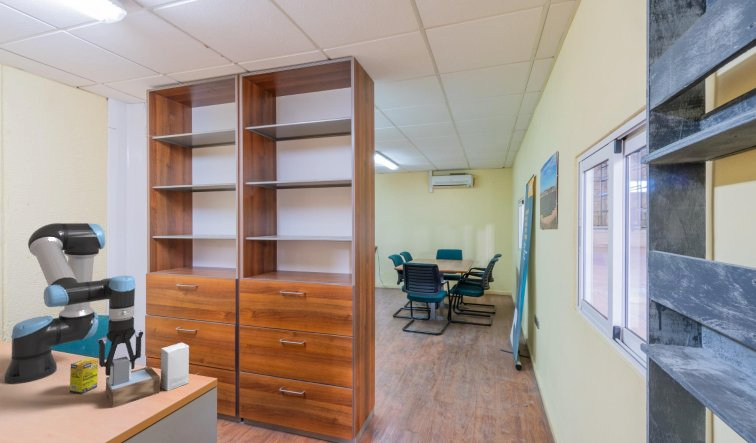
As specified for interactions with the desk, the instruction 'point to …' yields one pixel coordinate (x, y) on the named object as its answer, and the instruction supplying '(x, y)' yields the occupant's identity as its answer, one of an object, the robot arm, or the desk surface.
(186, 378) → the skincare box
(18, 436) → the desk surface
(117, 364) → the lid
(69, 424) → the desk surface
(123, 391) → the box
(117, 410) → the desk surface
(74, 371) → the supplement box
